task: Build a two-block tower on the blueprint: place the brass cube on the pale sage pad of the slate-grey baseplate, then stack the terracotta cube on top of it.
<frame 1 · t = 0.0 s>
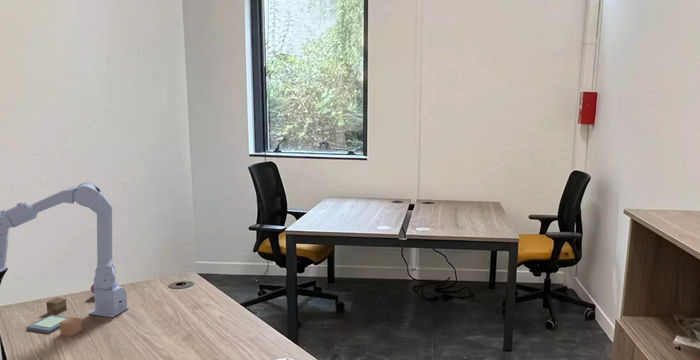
brass cube: (57, 311, 163), on the table
video game controller: (104, 295, 178), on the table
terracotta cube: (71, 332, 148), on the table
baseplate: (50, 325, 152), on the table
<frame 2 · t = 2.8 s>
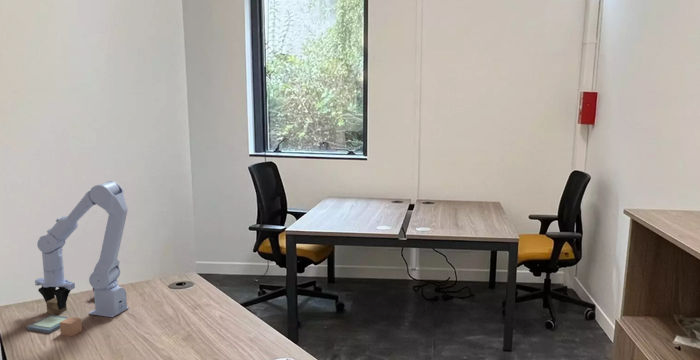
hand: (56, 307, 163), 1 cm above the table, tool pointing down, fingers closed on brass cube, 4 cm apart
brass cube: (57, 311, 163), on the table, touching gripper
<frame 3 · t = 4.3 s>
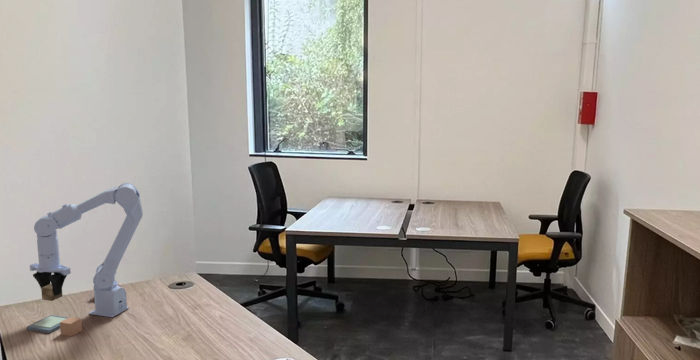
hand: (52, 293, 156), 8 cm above the table, tool pointing down, fingers closed on brass cube, 4 cm apart
brass cube: (52, 297, 157), point 7 cm above the table, touching gripper
when the fingers open (4 cm above the table, at t = 6.0 s): brass cube stays where it is, resting on baseplate.
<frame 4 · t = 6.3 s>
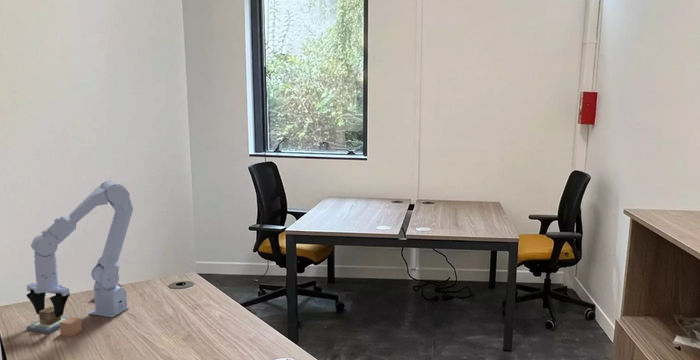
hand: (50, 314, 152), 4 cm above the table, tool pointing down, fingers open, 7 cm apart
brass cube: (50, 321, 152), point 1 cm above the table, touching baseplate
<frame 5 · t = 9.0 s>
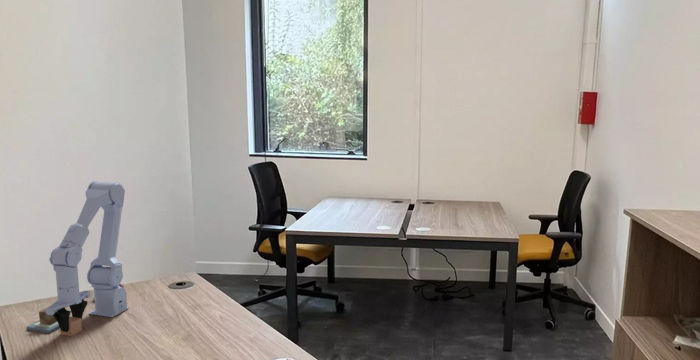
hand: (71, 327, 148), 1 cm above the table, tool pointing down, fingers closed on terracotta cube, 4 cm apart
terracotta cube: (71, 332, 148), on the table, touching gripper
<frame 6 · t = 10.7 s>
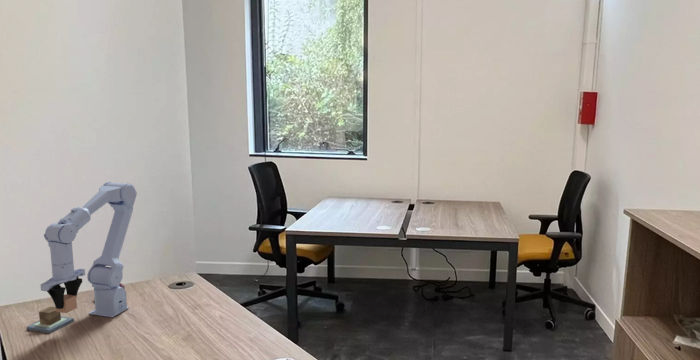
hand: (65, 305, 148), 8 cm above the table, tool pointing down, fingers closed on terracotta cube, 4 cm apart
terracotta cube: (66, 309, 148), point 7 cm above the table, touching gripper
when the fingers open (7 cm above the table, at t = 12.0 s): terracotta cube stays where it is, resting on brass cube.
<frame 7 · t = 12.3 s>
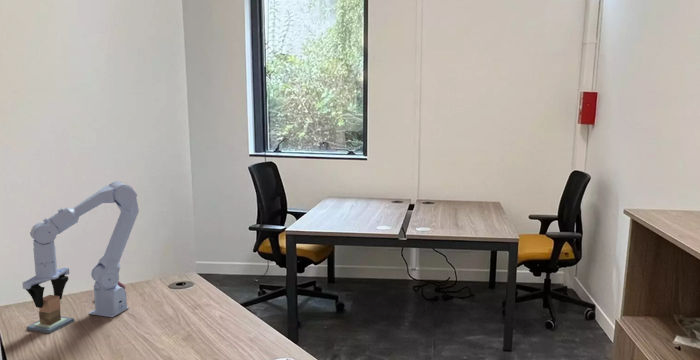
hand: (49, 303, 151), 7 cm above the table, tool pointing down, fingers open, 6 cm apart
brass cube: (50, 321, 152), point 1 cm above the table, touching baseplate, terracotta cube
terracotta cube: (50, 309, 152), point 5 cm above the table, touching brass cube
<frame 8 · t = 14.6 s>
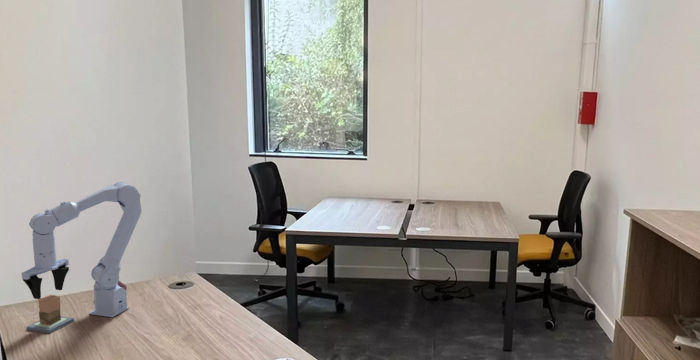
hand: (48, 293, 151), 10 cm above the table, tool pointing down, fingers open, 7 cm apart
at the end: brass cube 0.0 cm off-centre on the baseplate, point 1.2 cm above the baseplate's base; terracotta cube 0.2 cm off-centre on the brass cube, point 4.0 cm above the brass cube's base; terracotta cube tilted 0° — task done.
